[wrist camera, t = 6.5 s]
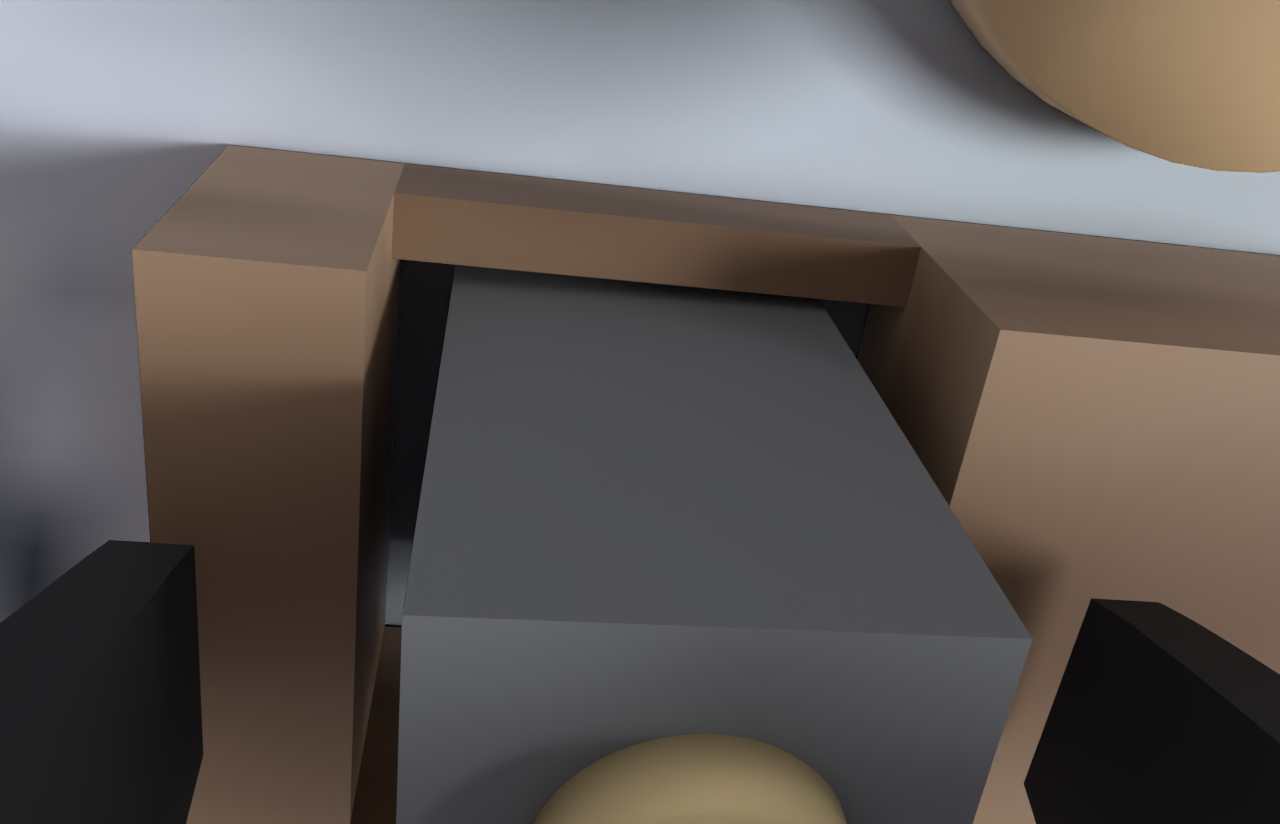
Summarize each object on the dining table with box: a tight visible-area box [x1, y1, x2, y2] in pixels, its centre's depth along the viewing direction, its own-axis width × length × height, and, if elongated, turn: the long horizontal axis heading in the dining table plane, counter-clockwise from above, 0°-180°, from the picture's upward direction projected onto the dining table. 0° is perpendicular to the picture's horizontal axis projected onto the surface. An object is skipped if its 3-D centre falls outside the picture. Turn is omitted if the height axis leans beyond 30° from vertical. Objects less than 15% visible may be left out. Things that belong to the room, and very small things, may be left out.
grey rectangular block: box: [396, 265, 1032, 824], centre depth 9 cm, size 4×4×7 cm
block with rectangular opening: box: [132, 145, 1280, 824], centre depth 12 cm, size 6×12×3 cm, turn 83°
